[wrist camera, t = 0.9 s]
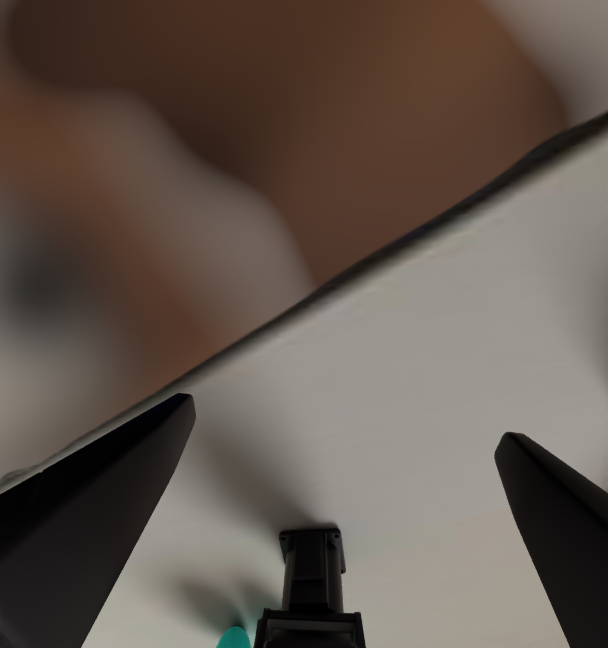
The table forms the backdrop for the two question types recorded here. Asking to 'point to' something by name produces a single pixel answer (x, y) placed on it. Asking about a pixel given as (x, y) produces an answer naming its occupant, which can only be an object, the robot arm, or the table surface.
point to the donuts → (234, 639)
